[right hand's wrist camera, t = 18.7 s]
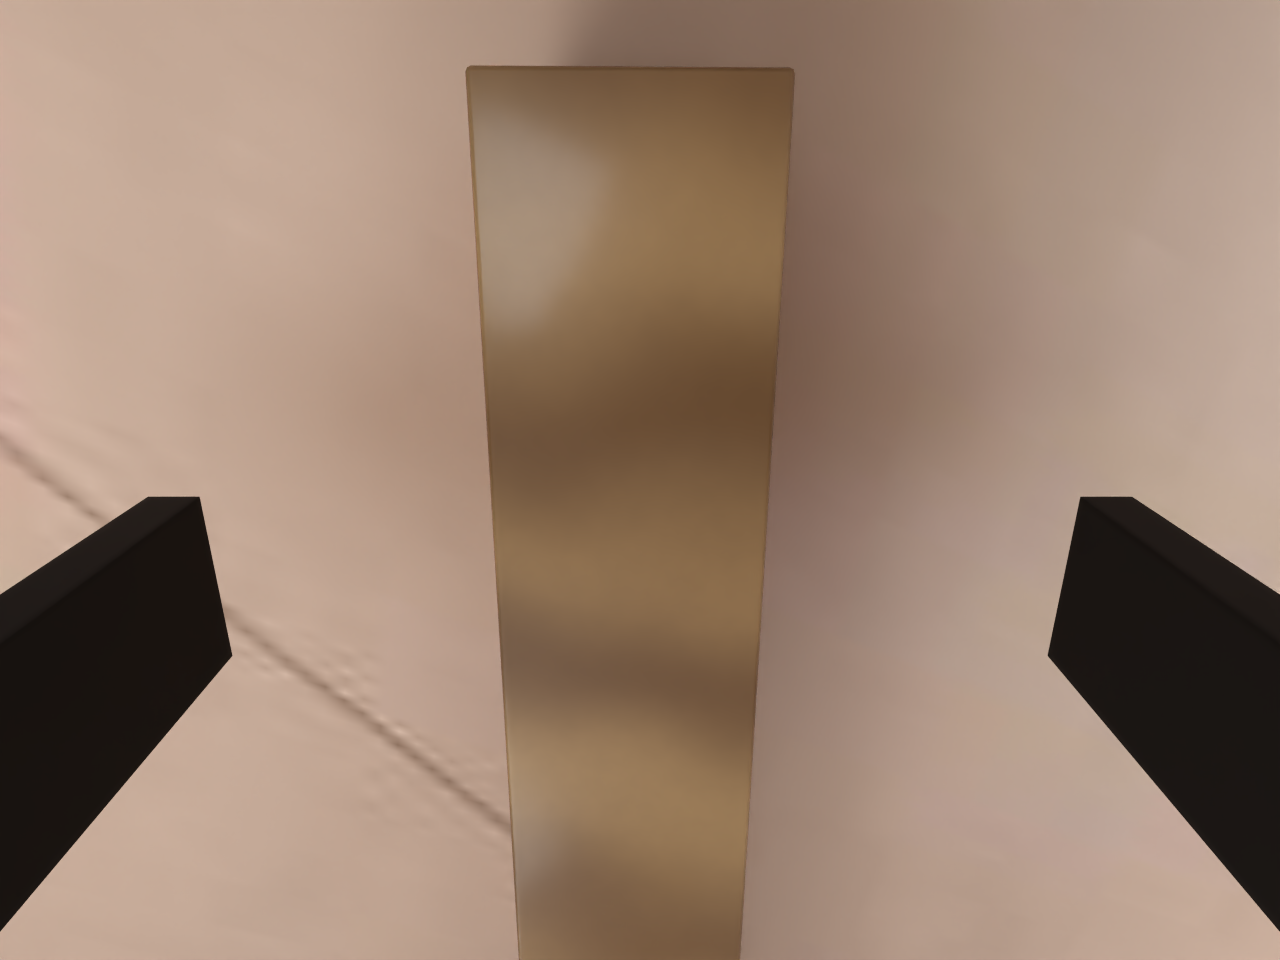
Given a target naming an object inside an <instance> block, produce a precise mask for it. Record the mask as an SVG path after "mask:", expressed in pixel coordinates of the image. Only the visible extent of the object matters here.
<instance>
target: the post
mask: <svg viewBox="0 0 1280 960" xmlns="http://www.w3.org/2000/svg"><path fill="white" fill-rule="evenodd" d="M794 81H795V72H794V69H792V68H774V67H623V66H469V67H467V69H466V88H467V105H468V121H469V138H470V155H471V171H472V188H473V204H474V221H475V238H476V254H477V271H478V287H479V304H480V321H481V337H482V354H483V370H484V387H485V404H486V420H487V437H488V453H489V470H490V487H491V503H492V520H493V536H494V553H495V570H496V586H497V603H498V619H499V636H500V653H501V669H502V686H503V702H504V719H505V736H506V752H507V769H508V785H509V802H510V819H511V835H512V852H513V868H514V885H515V902H516V918H517V935H518V951H519V960H740V951H741V935H742V919H743V902H744V886H745V870H746V854H747V838H748V822H749V806H750V790H751V774H752V758H753V741H754V725H755V709H756V693H757V677H758V661H759V645H760V629H761V613H762V597H763V580H764V564H765V548H766V532H767V516H768V500H769V484H770V468H771V452H772V436H773V419H774V403H775V387H776V371H777V355H778V339H779V323H780V307H781V291H782V274H783V258H784V242H785V226H786V210H787V194H788V178H789V162H790V146H791V130H792V113H793V97H794Z"/></svg>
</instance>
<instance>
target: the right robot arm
mask: <svg viewBox="0 0 1280 960" xmlns="http://www.w3.org/2000/svg"><path fill="white" fill-rule="evenodd" d="M231 657H232V652H231V647H230V642H229V637H228V632H227V628H226V623H225V618H224V613H223V608H222V603H221V598H220V594H219V589H218V584H217V579H216V574H215V569H214V565H213V560H212V555H211V550H210V545H209V540H208V536H207V531H206V526H205V521H204V516H203V511H202V506H201V502H200V497H147V498H145V499H144V500H142V501H141V502H139V503H138V504H136V505H135V506H133V507H132V508H130V509H129V510H127V511H126V512H124V513H123V514H121V515H120V516H118V517H117V518H115V519H114V520H112V521H111V522H109V523H108V524H106V525H105V526H103V527H102V528H100V529H99V530H97V531H96V532H94V533H93V534H91V535H90V536H88V537H87V538H85V539H84V540H82V541H80V542H79V543H77V544H76V545H74V546H73V547H71V548H70V549H68V550H67V551H65V552H64V553H62V554H61V555H59V556H58V557H56V558H55V559H53V560H52V561H50V562H49V563H47V564H46V565H44V566H43V567H41V568H40V569H38V570H37V571H35V572H34V573H32V574H31V575H29V576H28V577H26V578H25V579H23V580H22V581H20V582H19V583H17V584H16V585H14V586H12V587H11V588H9V589H8V590H6V591H5V592H3V593H2V594H0V931H1V930H2V929H3V928H4V926H5V925H6V924H7V923H8V922H9V920H10V919H11V918H12V917H13V916H14V914H15V913H16V912H17V911H18V910H19V909H20V907H21V906H22V905H23V904H24V903H25V901H26V900H27V899H28V898H29V897H30V895H31V894H32V893H33V892H34V891H35V890H36V888H37V887H38V886H39V885H40V884H41V882H42V881H43V880H44V879H45V878H46V876H47V875H48V874H49V873H50V872H51V871H52V869H53V868H54V867H55V866H56V865H57V863H58V862H59V861H60V860H61V859H62V857H63V856H64V855H65V854H66V853H67V852H68V850H69V849H70V848H71V847H72V846H73V844H74V843H75V842H76V841H77V840H78V838H79V837H80V836H81V835H82V834H83V833H84V831H85V830H86V829H87V828H88V827H89V825H90V824H91V823H92V822H93V821H94V819H95V818H96V817H97V816H98V815H99V814H100V812H101V811H102V810H103V809H104V808H105V806H106V805H107V804H108V803H109V802H110V800H111V799H112V798H113V797H114V796H115V794H116V793H117V792H118V791H119V790H120V789H121V787H122V786H123V785H124V784H125V783H126V781H127V780H128V779H129V778H130V777H131V775H132V774H133V773H134V772H135V771H136V770H137V768H138V767H139V766H140V765H141V764H142V762H143V761H144V760H145V759H146V758H147V756H148V755H149V754H150V753H151V752H152V751H153V749H154V748H155V747H156V746H157V745H158V743H159V742H160V741H161V740H162V739H163V737H164V736H165V735H166V734H167V733H168V732H169V730H170V729H171V728H172V727H173V726H174V724H175V723H176V722H177V721H178V720H179V718H180V717H181V716H182V715H183V714H184V713H185V711H186V710H187V709H188V708H189V707H190V705H191V704H192V703H193V702H194V701H195V699H196V698H197V697H198V696H199V695H200V694H201V692H202V691H203V690H204V689H205V688H206V686H207V685H208V684H209V683H210V682H211V680H212V679H213V678H214V677H215V676H216V674H217V673H218V672H219V671H220V670H221V669H222V667H223V666H224V665H225V664H226V663H227V661H228V660H229V659H230V658H231ZM1048 657H1049V658H1050V659H1051V660H1052V661H1053V663H1054V664H1055V665H1056V666H1057V667H1058V669H1059V670H1060V671H1061V672H1062V673H1063V674H1064V676H1065V677H1066V678H1067V679H1068V680H1069V682H1070V683H1071V684H1072V685H1073V686H1074V688H1075V689H1076V690H1077V691H1078V692H1079V694H1080V695H1081V696H1082V697H1083V698H1084V699H1085V701H1086V702H1087V703H1088V704H1089V705H1090V707H1091V708H1092V709H1093V710H1094V711H1095V713H1096V714H1097V715H1098V716H1099V717H1100V718H1101V720H1102V721H1103V722H1104V723H1105V724H1106V726H1107V727H1108V728H1109V729H1110V730H1111V732H1112V733H1113V734H1114V735H1115V736H1116V737H1117V739H1118V740H1119V741H1120V742H1121V743H1122V745H1123V746H1124V747H1125V748H1126V749H1127V751H1128V752H1129V753H1130V754H1131V755H1132V756H1133V758H1134V759H1135V760H1136V761H1137V762H1138V764H1139V765H1140V766H1141V767H1142V768H1143V770H1144V771H1145V772H1146V773H1147V774H1148V775H1149V777H1150V778H1151V779H1152V780H1153V781H1154V783H1155V784H1156V785H1157V786H1158V787H1159V789H1160V790H1161V791H1162V792H1163V793H1164V794H1165V796H1166V797H1167V798H1168V799H1169V800H1170V802H1171V803H1172V804H1173V805H1174V806H1175V808H1176V809H1177V810H1178V811H1179V812H1180V814H1181V815H1182V816H1183V817H1184V818H1185V819H1186V821H1187V822H1188V823H1189V824H1190V825H1191V827H1192V828H1193V829H1194V830H1195V831H1196V833H1197V834H1198V835H1199V836H1200V837H1201V838H1202V840H1203V841H1204V842H1205V843H1206V844H1207V846H1208V847H1209V848H1210V849H1211V850H1212V852H1213V853H1214V854H1215V855H1216V856H1217V857H1218V859H1219V860H1220V861H1221V862H1222V863H1223V865H1224V866H1225V867H1226V868H1227V869H1228V871H1229V872H1230V873H1231V874H1232V875H1233V876H1234V878H1235V879H1236V880H1237V881H1238V882H1239V884H1240V885H1241V886H1242V887H1243V888H1244V890H1245V891H1246V892H1247V893H1248V894H1249V895H1250V897H1251V898H1252V899H1253V900H1254V901H1255V903H1256V904H1257V905H1258V906H1259V907H1260V909H1261V910H1262V911H1263V912H1264V913H1265V914H1266V916H1267V917H1268V918H1269V919H1270V920H1271V922H1272V923H1273V924H1274V925H1275V926H1276V928H1277V929H1278V930H1279V931H1280V594H1278V593H1277V592H1275V591H1274V590H1272V589H1271V588H1269V587H1268V586H1266V585H1264V584H1263V583H1261V582H1260V581H1258V580H1257V579H1255V578H1254V577H1252V576H1251V575H1249V574H1248V573H1246V572H1245V571H1243V570H1242V569H1240V568H1239V567H1237V566H1236V565H1234V564H1233V563H1231V562H1230V561H1228V560H1227V559H1225V558H1224V557H1222V556H1221V555H1219V554H1218V553H1216V552H1215V551H1213V550H1212V549H1210V548H1209V547H1207V546H1206V545H1204V544H1203V543H1201V542H1200V541H1198V540H1196V539H1195V538H1193V537H1192V536H1190V535H1189V534H1187V533H1186V532H1184V531H1183V530H1181V529H1180V528H1178V527H1177V526H1175V525H1174V524H1172V523H1171V522H1169V521H1168V520H1166V519H1165V518H1163V517H1162V516H1160V515H1159V514H1157V513H1156V512H1154V511H1153V510H1151V509H1150V508H1148V507H1147V506H1145V505H1144V504H1142V503H1141V502H1139V501H1138V500H1136V499H1135V498H1133V497H1080V502H1079V506H1078V511H1077V516H1076V521H1075V526H1074V531H1073V536H1072V540H1071V545H1070V550H1069V555H1068V560H1067V565H1066V569H1065V574H1064V579H1063V584H1062V589H1061V594H1060V598H1059V603H1058V608H1057V613H1056V618H1055V623H1054V628H1053V632H1052V637H1051V642H1050V647H1049V652H1048Z"/></svg>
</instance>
